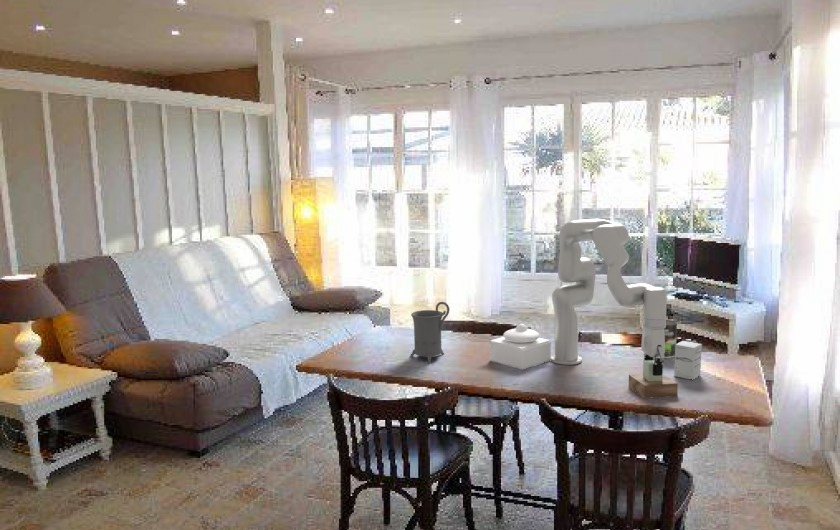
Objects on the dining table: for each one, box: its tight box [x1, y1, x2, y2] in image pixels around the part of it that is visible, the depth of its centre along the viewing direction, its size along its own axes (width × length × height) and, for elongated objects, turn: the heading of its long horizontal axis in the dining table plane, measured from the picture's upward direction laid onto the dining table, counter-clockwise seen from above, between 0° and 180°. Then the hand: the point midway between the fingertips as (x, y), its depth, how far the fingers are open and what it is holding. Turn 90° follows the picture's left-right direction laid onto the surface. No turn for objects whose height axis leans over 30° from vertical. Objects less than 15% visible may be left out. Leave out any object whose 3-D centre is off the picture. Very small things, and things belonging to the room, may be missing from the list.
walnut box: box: [628, 373, 679, 399], centre depth 225 cm, size 12×12×5 cm
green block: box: [642, 359, 664, 381], centre depth 224 cm, size 5×5×6 cm
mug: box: [410, 301, 450, 364], centre depth 270 cm, size 19×15×25 cm
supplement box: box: [673, 340, 703, 381], centre depth 239 cm, size 7×7×13 cm
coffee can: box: [655, 319, 678, 359], centre depth 267 cm, size 10×10×14 cm
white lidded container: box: [489, 323, 552, 371], centre depth 264 cm, size 18×18×16 cm
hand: (653, 371), depth 224 cm, fingers open, 7 cm apart
